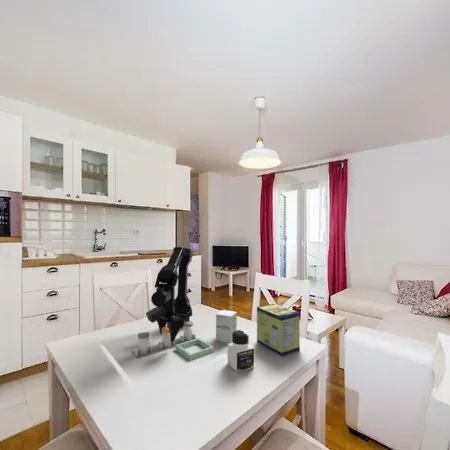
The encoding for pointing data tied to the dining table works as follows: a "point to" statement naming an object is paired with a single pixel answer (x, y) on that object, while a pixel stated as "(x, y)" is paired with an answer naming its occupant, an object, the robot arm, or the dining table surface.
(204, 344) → the tray
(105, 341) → the dining table surface
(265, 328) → the protein box
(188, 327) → the block
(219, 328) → the supplement box
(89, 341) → the dining table surface
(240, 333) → the medicine bottle
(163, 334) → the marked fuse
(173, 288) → the robot arm
